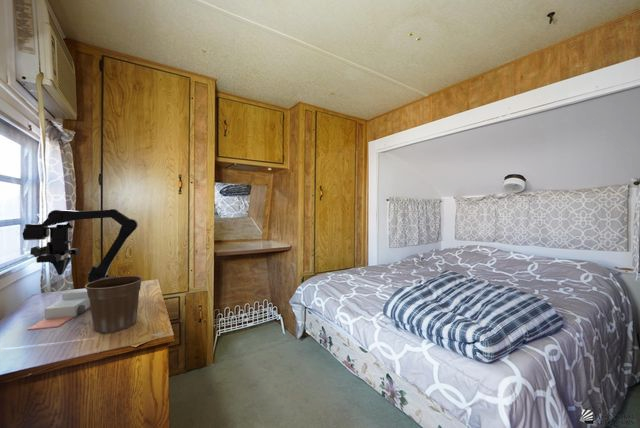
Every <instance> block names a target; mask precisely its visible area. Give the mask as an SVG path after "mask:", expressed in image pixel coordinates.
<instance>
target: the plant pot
mask: <svg viewBox="0 0 640 428" xmlns="http://www.w3.org/2000/svg"><path fill="white" fill-rule="evenodd" d="M143 279H144V278H143V277H142V276H139V275H122V276H118V277H112V278H106V279H101V280H97V281H93V282H88V283H87V284H85V285H84V289H87V294H88V298H89V299H90V307H89V308H90V311H91V312H90V313H91V321H92V327H93V329H92V330H93V331H94V333H98V334H109V333H110V334H111V333H115V332H119V331H121V330H123V329H128V328H130V327H132V326H135V324H136V323H137V318H138V309H139V308H138V307H139V306H138V305H139V295H140V290H141V286H142V281H143Z"/></svg>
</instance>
